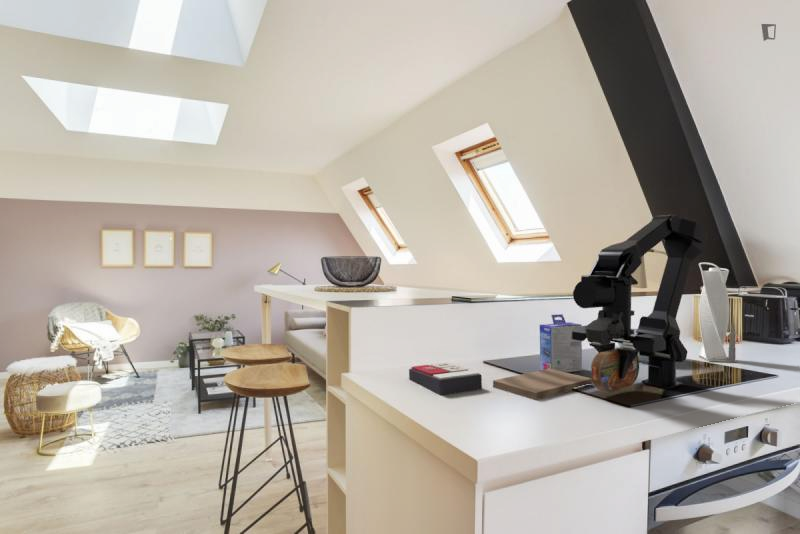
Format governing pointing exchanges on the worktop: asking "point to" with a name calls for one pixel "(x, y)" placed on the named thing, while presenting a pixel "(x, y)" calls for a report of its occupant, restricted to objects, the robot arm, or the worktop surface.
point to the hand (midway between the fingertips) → (615, 377)
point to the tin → (612, 371)
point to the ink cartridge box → (560, 346)
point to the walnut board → (541, 383)
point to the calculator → (446, 378)
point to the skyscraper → (715, 316)
